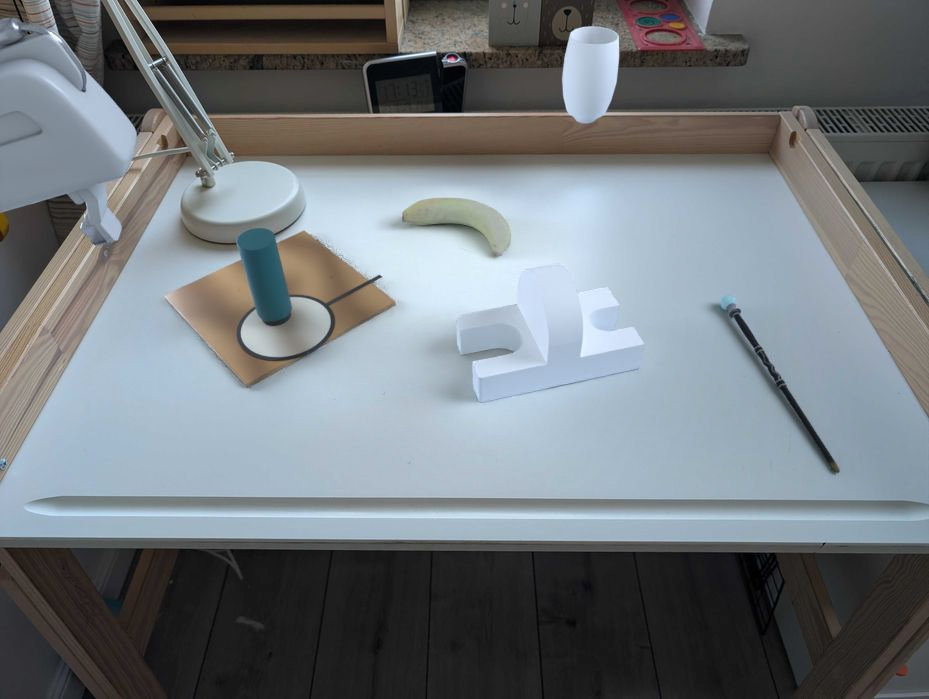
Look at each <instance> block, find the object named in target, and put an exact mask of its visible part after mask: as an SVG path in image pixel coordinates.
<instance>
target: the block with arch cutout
mask: <svg viewBox="0 0 929 699" xmlns="http://www.w3.org/2000/svg"><path fill="white" fill-rule="evenodd" d="M516 296H517V298H516V303H515V304H514V303H513V304H509V305H505V306H499V307H494V308H488V309H484V310H483V309H482V310H478V311H472V312H467V313H463V314H459V315H457V316H456V318H455V324H456V345H457V348H458V351H459V354H460V356H465V355H469V354H475V353H479V352H483V351H484V352H485V351H489V350H493V349H504V350H509V351H510V352H511V353H508V354H503V355H498V356H493V357H492V356H491V357H488V358H482V359H478V360H473V361H471V362H472V388H473V391H474V394H475V396H476V398H477V401H478V402H479V403H487V402H490V401H491V402H492V401H496V400H501V399H505V398H509V397H515V396H519V395H523V394H528V393H529V394H530V393H532V392H533V393H534V392H538V391H542V390H546V389H550V388H555V387H559V386H565V385H568V384H573V383H578V382H583V381H588V380H592V379H593V380H594V379H598V378H601V377H606V376H611V375H616V374H621V373H625V372H630V371H634V370H639V369H640V367H641V362H642V359H643V353H644V350H645V345H646V344H645V342H644V341H643V339H642V338H641V336H640V334H639V333H638V331H637V330H636V328H635V327H634V326H629V327H624V328H619V329H616V326H617V322H618V321H617V320H618V316H619V309H620V304H619V302H618V301H617V299H616V297H615V296H614V295H613V293H612V291H611V290H610V288H609V287H608V286H605V287H599V288H595V289H589V290H584V291H583V290H582V291H579V292H578V290H577V287H576V284H575V281H574V279H573V277H572V276H571V273H570V271H569V270H568V269H567V268H566V266H565V265H563V264H562V263H553V264H547V265H542V266H536V267H531V268H524V269H522V270H521V272H520V274H519V277H518V281H517V295H516Z"/></svg>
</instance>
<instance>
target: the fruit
mask: <svg viewBox="0 0 929 699" xmlns="http://www.w3.org/2000/svg"><path fill="white" fill-rule="evenodd" d="M401 219H402V222H403V223H406V224H412V225H416V226H417V225H418V226H428V225H440V224H457V225H463V226H467V227H471V228H473V229H476V230H477V231H479V232H480V233H482V235H484V236H485V238H486V239H487V242H488V243H489V245H490V247H491V250H492V254H493V256H495V257H501V256H502V255H503V253H504V252H505V251H506V250H507V249H508V248H509V247H510V244H511V240H512V229H511V226H510V224H509V222H508V221H507V219H506V218H505V217H504V216H503V215H502V214H501V213H500V212H499V211H498V210H496V209H495V208H493V207H492V206H490V205H488V204H486V203H483V202H480V201H478V200H473V199H468V198H462V197H432V198H431V197H430V198H425V199H421V200H418V201H416V202H414V203H413V204H411V205H409V206H408V207H407V208H405V210H403V211H402V213H401Z"/></svg>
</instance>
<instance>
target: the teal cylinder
mask: <svg viewBox="0 0 929 699" xmlns="http://www.w3.org/2000/svg"><path fill="white" fill-rule="evenodd" d="M275 236H276V235H275V233H274V232H273V231H272V230H271V229H268V228H264V227H257V228H256V227H255V228H251V229H248V230H246V231H243V232H242V233H240V234H239V235H238V236H237V239H236V241H235V242H236V243H235V244H236V247H237V250H238V254H239V256H240V260H242V264H243V267H244V270H245V274H246V277H247V281H248V284H249V287H250V291H251V294H252V298H253V301H254V305H255V308H256V311H257V315H258V316H259V318H261V319H262V321H263V323H265V324H266V325H269V326H278V325H282V324H284V323H286V322H287V321H288V320H289V319H290V317H291V310H292V304H291V300H290V296H289V292H288V288H287V284H286V280H285V276H284V272H283V267H282V263H281V259H280V255H279V251H278V247H277V243H278V242H277V239H276V237H275Z"/></svg>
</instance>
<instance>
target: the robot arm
mask: <svg viewBox="0 0 929 699" xmlns="http://www.w3.org/2000/svg"><path fill="white" fill-rule="evenodd" d="M27 32H29V33H30V32H31V33H30V34H27ZM137 140H138V134H137V130H136V128H135V126H134V124H133V123H132V122H131V121H130V119H129V118H128V116H127V115H126V114H125V112H124V111H123V110H122V108H121V107H120V106H118V105H117V103H116V102H115V100H113V98H112V97H111V96H110V95H109V94H108V92H106V90H105V89H104V88H103V87H102V86H101V85H100V84H99V83H98V82H97V81H96V79H95V78H93V77H92V76H91V75H90V73H88V72H87V71H86V69H85V68H84V66H83V64H82V63H81V61H80V59H79V58H78V57H77V55H76V54H75V53H74V51H73V50H72V49H71V47H70V46H69V44H68V43H67V41H66V40H65V39H64V38H63V37H62V35H60V34H59V33H58V32H57V31H55V30H54V29H51V28H47V27H46V26H43V25H40V24H37V23H33V22H22V21H21V20H20V19H19V18H17V17H6V18H0V214H1V213H4V212H8V211H11V210H15V209H18V208H22V207H26V206H29V205H32V204H36V203H39V202H43V201H46V200H49V199H53V198H57V197H60V196H64V195H67V196H68V197H69V198H70V199H71V200H72V201H73V203H74V204H75V205H78V206H79V205H82V204H84V203H85V205H86V211H85V213H84V216H83V219H84V220H82V221H81V224H80V226H79V231H80V232H81V233H82V234H83V235H84V236H85V237H86V238H87V239H90V243H91V244H92V245H93V246H95V247H98V246H102V245H105V244H109V243H114V242H117V241H119V239H120V236H121V234H122V230H123V226H122V223H121V221H120V220H119V219H118V217H117V216H116V215H115V214H114V213H113V212H112V210H111V209H110V207H108V205H109V202H108V192H107V183H108V182H112V181H117V180H118V179H121V178H123V177H125V175H127V173H128V171H129V168H130V166H131V164H132V161H133V159H134V156H135V152H136V147H137V142H138V141H137Z"/></svg>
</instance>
